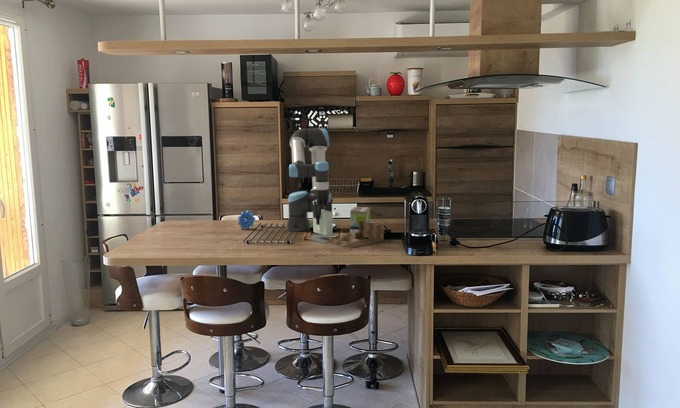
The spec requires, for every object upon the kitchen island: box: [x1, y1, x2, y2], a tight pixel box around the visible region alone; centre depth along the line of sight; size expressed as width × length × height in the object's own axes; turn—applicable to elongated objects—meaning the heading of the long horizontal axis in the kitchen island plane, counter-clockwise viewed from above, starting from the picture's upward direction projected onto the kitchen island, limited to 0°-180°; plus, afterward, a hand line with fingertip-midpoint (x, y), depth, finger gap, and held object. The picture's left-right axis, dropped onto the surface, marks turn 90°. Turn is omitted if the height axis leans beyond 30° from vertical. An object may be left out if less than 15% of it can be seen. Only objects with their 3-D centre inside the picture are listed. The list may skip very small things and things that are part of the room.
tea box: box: [349, 206, 371, 233], centre depth 338 cm, size 15×10×15 cm, turn 168°
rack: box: [328, 221, 384, 249], centre depth 315 cm, size 18×25×9 cm
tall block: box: [312, 210, 334, 236], centre depth 320 cm, size 12×4×13 cm, turn 40°
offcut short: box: [339, 232, 356, 240], centre depth 311 cm, size 8×3×3 cm, turn 98°
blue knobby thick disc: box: [237, 209, 256, 230], centre depth 352 cm, size 12×7×12 cm, turn 79°
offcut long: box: [338, 238, 360, 243], centre depth 312 cm, size 12×3×3 cm, turn 58°
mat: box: [305, 234, 333, 244], centre depth 322 cm, size 16×12×1 cm
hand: (322, 229), depth 321 cm, fingers closed on tall block, 4 cm apart
